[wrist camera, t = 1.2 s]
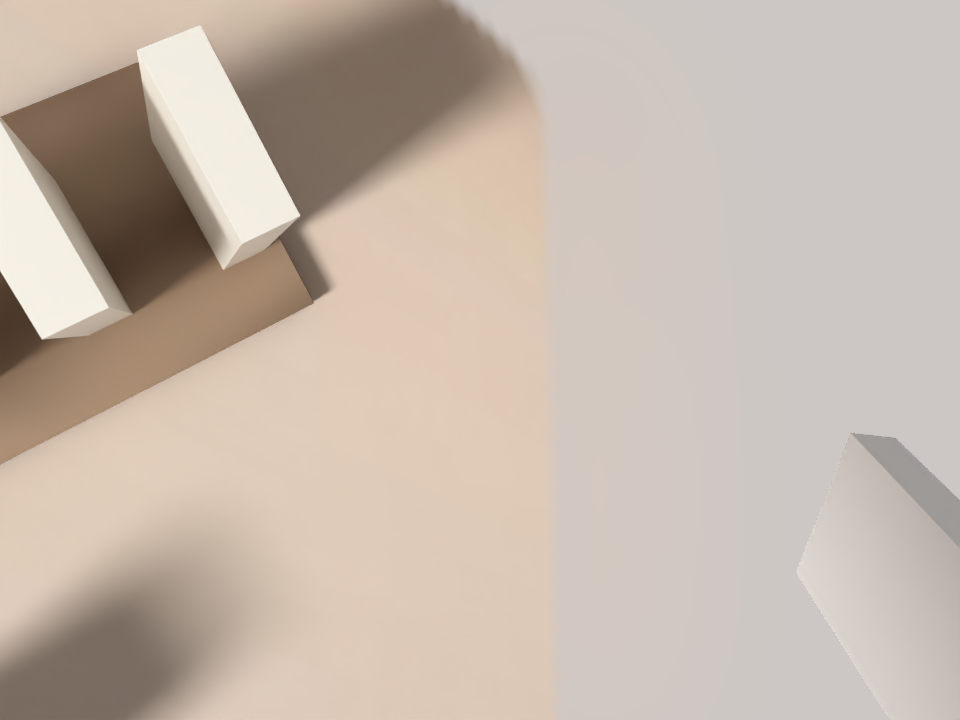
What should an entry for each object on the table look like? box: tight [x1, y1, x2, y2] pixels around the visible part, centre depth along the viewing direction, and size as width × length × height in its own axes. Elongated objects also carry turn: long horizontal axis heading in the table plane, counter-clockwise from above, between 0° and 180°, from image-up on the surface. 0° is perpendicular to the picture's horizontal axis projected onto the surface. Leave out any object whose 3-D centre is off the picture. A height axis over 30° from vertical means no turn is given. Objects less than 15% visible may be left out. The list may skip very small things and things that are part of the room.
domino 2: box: [137, 25, 300, 270], centre depth 25 cm, size 2×5×10 cm, turn 28°
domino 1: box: [0, 117, 133, 339], centre depth 24 cm, size 2×5×10 cm, turn 28°
